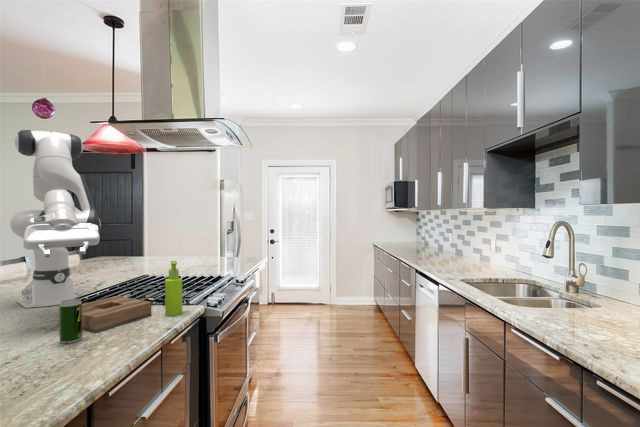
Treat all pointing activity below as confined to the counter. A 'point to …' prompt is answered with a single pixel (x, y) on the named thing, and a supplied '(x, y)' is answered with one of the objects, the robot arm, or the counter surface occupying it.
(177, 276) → the soap dispenser
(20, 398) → the counter surface
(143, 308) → the socket board
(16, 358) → the counter surface
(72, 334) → the beer can
